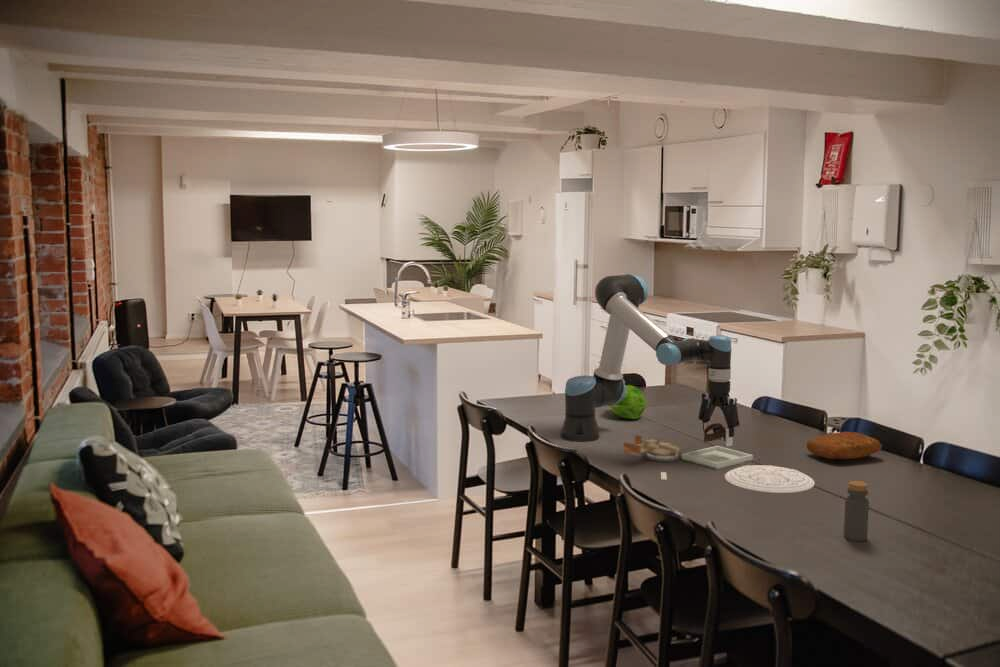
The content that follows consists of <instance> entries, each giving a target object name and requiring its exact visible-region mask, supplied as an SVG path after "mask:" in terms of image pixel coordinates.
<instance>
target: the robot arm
mask: <svg viewBox="0 0 1000 667" xmlns="http://www.w3.org/2000/svg"><path fill="white" fill-rule="evenodd" d="M594 289H595V290H594V295H595V299H596V300H595V301H596V302H597V304H598V305H599V306H600V307H601V308H602V309H603V311H605V312H606V313H607V314H609V317H608V318H609V319H608V322H607V323H608V324H607V327H606V332H605V336H604V337H605V338H604V343H603V346H602V347H603V348H602V351H601V352H602V353H601V356H600V362H599V366H598V367H596V368H595V369H594V371H593V375H576V376H573V377H570V378H568V379H567V381H566V382H565V388H564V389H565V390H564V394H565V395H564V396H565V399H564V403H565V404H564V405H565V406H564V407H565V410H564V412H565V416H564V421H563V424H562V426H561V427H562V428H561V430H560V438H562V439H564V440H566V441H572V442H590V441H591V442H592V441H595V440H598V439H600V429H599V426H598V422H597V419H596V408H597V409H598V408H602V407H608V406H609V407H610V406H611V405H614V404H616V403H619V402H620V401H621V400H622V399H623V398H624V396H625V393H626V386H627V385H626V381H625V379H624V374H623V373H622V372H621V371H622V365H623V361H624V357H625V352H626V347H627V343H628V340H629V339H628V338H629V334H630V330H631V331H632V332H633V333H634V334H635V335H636V336H637V337H639V338H640V339H641V340H642V341H643V342H644V343H645V344H647V346H649V347H650V348H651V349H653V351H655V356H656V358H657V360H658V363H660V364H661V365H664V366H672V365H674V366H675V365H677V364H683V363H688V362H689V363H690V362H696V361H699V362H706V363H708V379H709V380H708V382H707V383H708V384H707V390H708V391H709V392H703V393H701V403H700V407H699V411H698V412H699V413H698V420H699V421H701V422H702V431H703V434H704V433H705V432H704V430H705V429H706V428H707V427H708V426H709V425H711V424H712V421H711V418H712V415H713V413H714V411H715V409H716V407H718V408H720V411H722V414H723V416H724V421H725V423H726V425H727V427H726V441H725V447H730V446H731V447H732V446H733V445H732V441H733V439H734V437H735V428H736V427H740V421H739V420H740V419H739V414H738V407H737V402H738V398H736V397H730V391H731V381H730V380H731V373H732V369H731V366H732V365H731V360H732V339H731V338H730V336H727V335H720V334H719V335H711V336H710V337H709V338H708V340H706V339H698V338H690V337H689V338H683V339H682V340H681V341H677V340H676V339H675V338H673V337H672V336H671V335H670V334H668V333H667V332H666V331H665V330H664V329H662V328H661V327H660V326H659V325H658V324H657V323H656V322H654V321H653V320H652V319H651V318H650V317H649V316H648V315H646V314H645V313H644V312H643V311H642V310H640V309H639V307H640V305H642V304H643V303H644V302H646V300H647V298H648V293H649V292H648V291H649V290H648V286H647V283H645V280H644V278H642V276H640V275H637V274H630V273H627V274H621V275H620V274H619V275H608V276H604V277H602V278H601V279H600V280H599V281H598V282H597V284H596V286H595V288H594ZM707 434H712V429H711V430H709V431H708V432H707ZM733 442H734V441H733Z"/></svg>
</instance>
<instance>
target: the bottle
mask: <svg viewBox="0 0 1000 667" xmlns="http://www.w3.org/2000/svg"><path fill="white" fill-rule="evenodd" d="M868 485H869V484H868V483H866V482H865V481H861V480H860V481H859V480H851V481H848V488H847V491H846V492H847V494H848V496H846V497H845V501H844V503H845V504H844V523H843V537H844V538H845V539H846V540H849V541H853V542H865V541H866V540H868V531H869V530H868V529H869V508H870V500H869V499H868V498H867V497H866V496H868V495H869V490H868V489H867V488H868Z"/></svg>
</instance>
